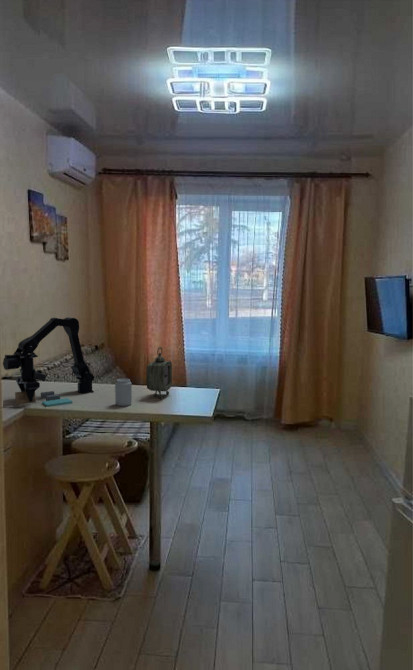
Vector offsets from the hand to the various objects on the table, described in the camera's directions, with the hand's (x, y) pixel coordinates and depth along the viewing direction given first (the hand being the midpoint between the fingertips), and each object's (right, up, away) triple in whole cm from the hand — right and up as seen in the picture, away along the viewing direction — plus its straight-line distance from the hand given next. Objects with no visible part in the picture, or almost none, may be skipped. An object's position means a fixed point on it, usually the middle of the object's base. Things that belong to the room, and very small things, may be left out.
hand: (28, 399), depth 226 cm
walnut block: (-1, -1, -1) cm, 2 cm away
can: (+46, -2, -3) cm, 46 cm away
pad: (+15, -1, -2) cm, 15 cm away
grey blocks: (+9, -1, +6) cm, 11 cm away
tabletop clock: (+61, 0, +13) cm, 62 cm away
